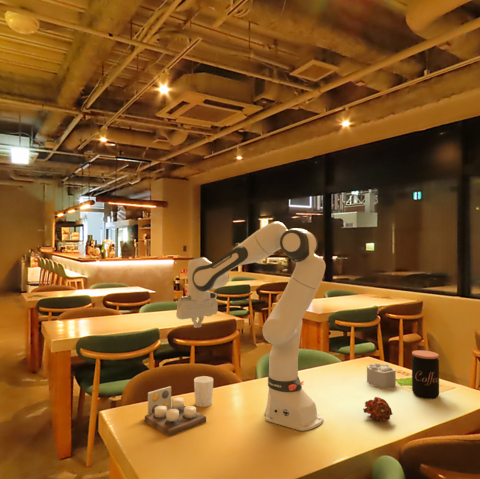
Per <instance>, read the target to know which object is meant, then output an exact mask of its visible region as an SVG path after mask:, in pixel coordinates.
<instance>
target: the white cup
mask: <svg viewBox="0 0 480 479" xmlns="http://www.w3.org/2000/svg"><path fill="white" fill-rule="evenodd" d="M193 387H194V388H193V389H194V398H195V399H194V400H195V401H194V402H195V403H194V404H195V406H197V407H199V408H200V407H201V408H207V407H210V406H211V405H212V404H213V394H214V393H213V391H214V378H213V377H212V376H207V375H206V376H205V375H202V376H197V377H194V379H193Z"/></svg>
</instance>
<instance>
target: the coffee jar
mask: <svg viewBox="0 0 480 479" xmlns="http://www.w3.org/2000/svg"><path fill="white" fill-rule="evenodd" d="M411 355H412V358H411V380H412V381H411V391H412V393H413V394H414V396H416V397H417V398H422V399H427V400H434V399H438V397H439V396H440V361H439V356H440V354H438V353H437V352H434V351H429V350H422V349H420V350H419V349H418V350H412V352H411Z"/></svg>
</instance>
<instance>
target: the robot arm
mask: <svg viewBox="0 0 480 479" xmlns="http://www.w3.org/2000/svg"><path fill="white" fill-rule="evenodd" d="M318 247H319V242H318V239H317V237H316V235H315V234H314V233H313V232H311V231H308V230H307V229H304V228H297V227H295V228H294V227H293V228H290V229H288V228H287V226H286V225H285V224H284V223H283V222H280V221H272V222H270V223H269V224H266V225H264V226H263V227H261V228H259V229H257V230H256V231H255V232H253V233H252V234H251V235H250V236H248V237H247V238H245V239H244V240H243V241H242V242H240V243H239V244H238V245H236V246H235V247H234V248H233V249H232V250H230V251H228V252H227V253H225V254H223V255H222V256H221V257H218V259H216V260H215V261H213V262H212V261H210V260H209V259H208V258H206V257H204V256H201V257H194V258H192V259H190V260H189V261H188V263H187V264H188V265H187V269H186V270H187V271H186V272H187V273H186V275H187V276H186V278H187V287H186V288H187V290H186V293H187V296H186V295H185V296H180V297H179V298H178V300H177V304H176V307H177V308H176V313H175V314H176V318H177V319H178V320H188V319H190V320H191V322H192V323H193V328H194V329H195V328H196V329H197V328H201V327H202V323H203V321H204V320H205V318H204V317H206V316H214V315H217V314H218V310H219V309H218V308H219V307H218V306H219V305H218V299H217V297H218V294H217V292H213V291H210V290H215V289H219V288H222V287H225V286H226V284H228V282H229V278H230V276H229V275H230V274H229V272H230V271H232V269H235V268H236V267H240V266H243V265H248V264H255V263H258V262H260V261H262V260H265V259H267V258H268V257H270V256H272V255H273V254H274V253H276V252H277V251H280V249H281V250H282V253H284V254H285V255H286V256H287V257H288V258H289V259H290V260H291V261H292V262H294V263H295V267H294V269H293V272H292V274H291V276H290V278H289V280H288V283H287V285H286V287H285V288H284V290H283V293H282V294H281V296H280V298H279V299H278V301H276V304H275V305H274V307H273V308H272V310H271V312H270V314H269V315H268V317H267V319H266V320H265V322H264V323H263V326H262V327H261V328H262V336H263V338H264V339H265V341H266V342H268V343H269V344H271V348H270V352H269V355H268V376H267V386H268V394H267V402H266V407H265V411H264V415H265V421H266V422H268V423H273V424H276V425H280V426H284V427H286V428H289V429H293V430H295V431H296V430H297V431H301V432H302V431H304V432H305V431H309V430H313V429H315V428H316V427H317V428H318V427H319V426H321V424H322V423H323V422H324V417H323V415H320V414H318V410H317V409H318V408H317V406H316V403H315V401H314V400H313V399H312V398H311V397H310V396H309V395H308V393H306V392H305V390H304V389H303V385H304V383H305V381H303V380H302V381H301V380H300V377H299V352H300V345H301V336H302V329H303V328H302V327H303V317H304V316H305V314H306V312H307V310H309V307H311V304H312V302H313V300H314V298H315V296H316V294H317V292H318V290H319V288H320V285H321V283H322V280H323V278H324V274H325V272H326V266H327V265H326V262H325V260H324V259H323V258H322V257H321V256H319V255H317V254H316V251H317V250H318ZM197 320H198V321H197Z"/></svg>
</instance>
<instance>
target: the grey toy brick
mask: <svg viewBox="0 0 480 479" xmlns="http://www.w3.org/2000/svg"><path fill="white" fill-rule="evenodd" d="M366 382H367V384H369V385H371V386H373V387H376V388H379V389H385V390H386V389H390V388H394V387H396V384H397V383H396V369H394V368H392V367H391V366H389V364H387V363H383V364H380V363H379V362H375V363H370V364H368V365H367V366H366Z"/></svg>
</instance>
